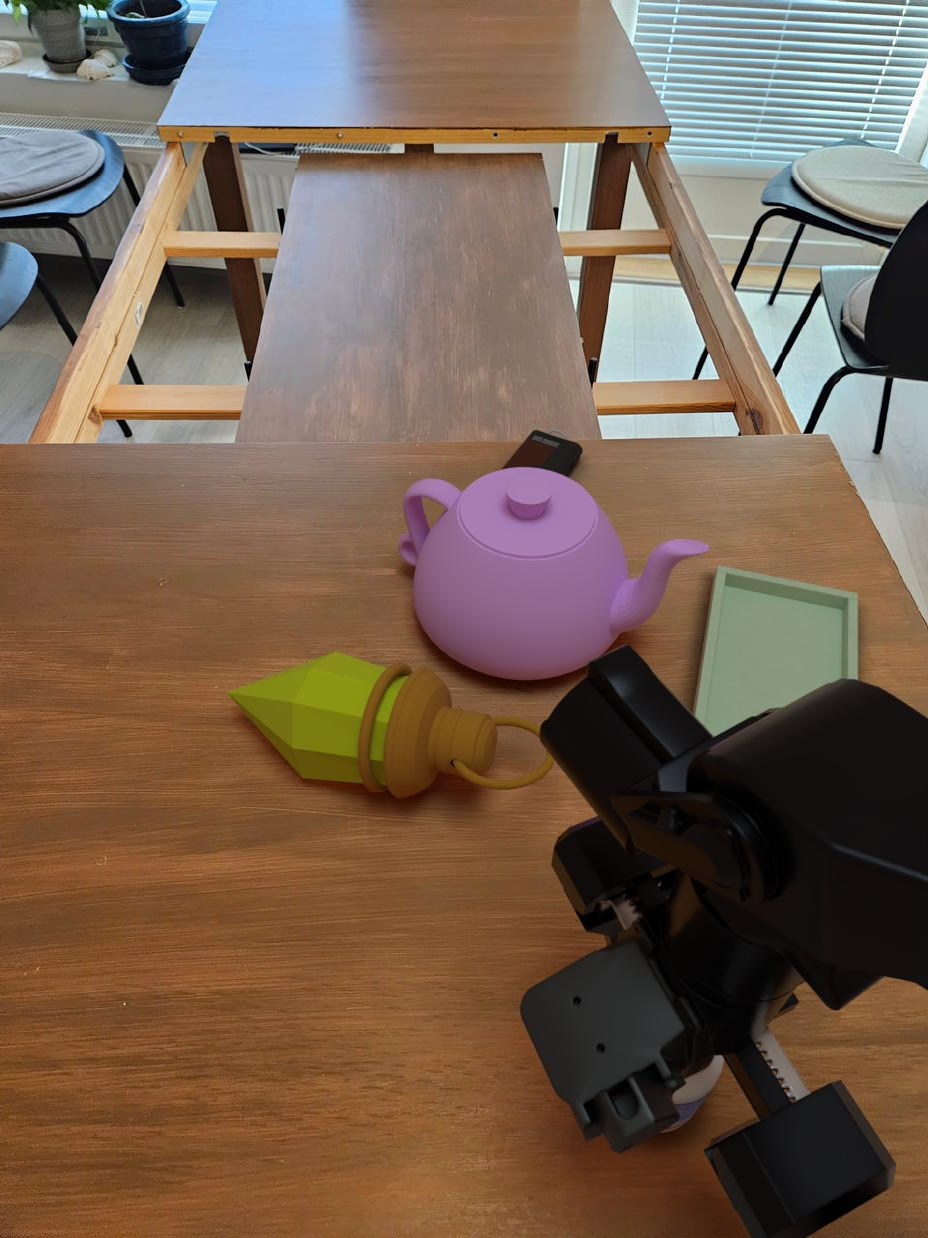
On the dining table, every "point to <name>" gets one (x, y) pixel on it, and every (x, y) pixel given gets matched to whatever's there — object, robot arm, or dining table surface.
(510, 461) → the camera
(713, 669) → the tray
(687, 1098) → the pill bottle
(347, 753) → the plumb bob
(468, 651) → the teapot
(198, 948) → the dining table surface
